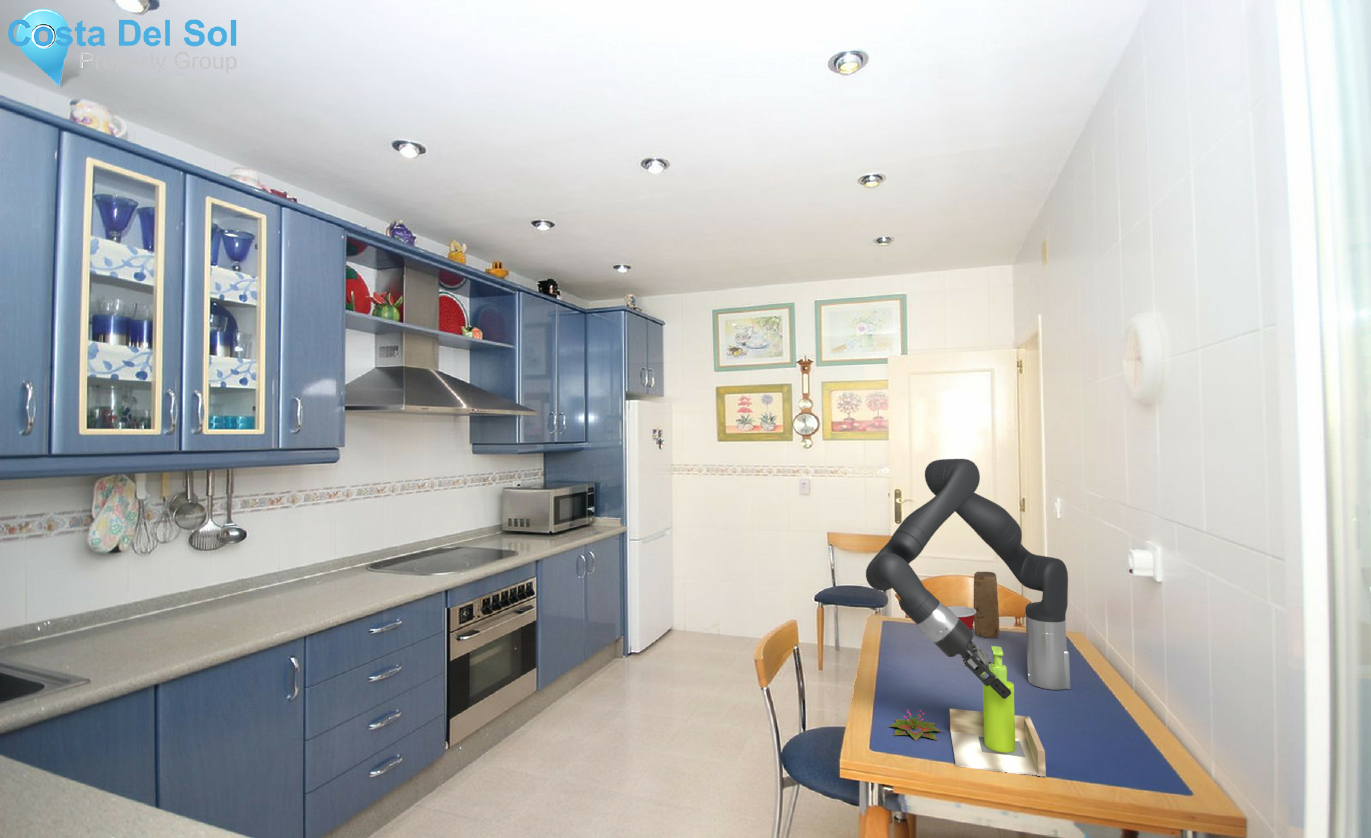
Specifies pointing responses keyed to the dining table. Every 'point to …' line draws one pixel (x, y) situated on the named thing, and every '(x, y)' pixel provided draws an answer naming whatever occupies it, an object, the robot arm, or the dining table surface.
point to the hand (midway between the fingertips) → (1005, 687)
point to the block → (986, 605)
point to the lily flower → (915, 727)
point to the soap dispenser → (999, 710)
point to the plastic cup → (964, 614)
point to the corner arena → (978, 756)
